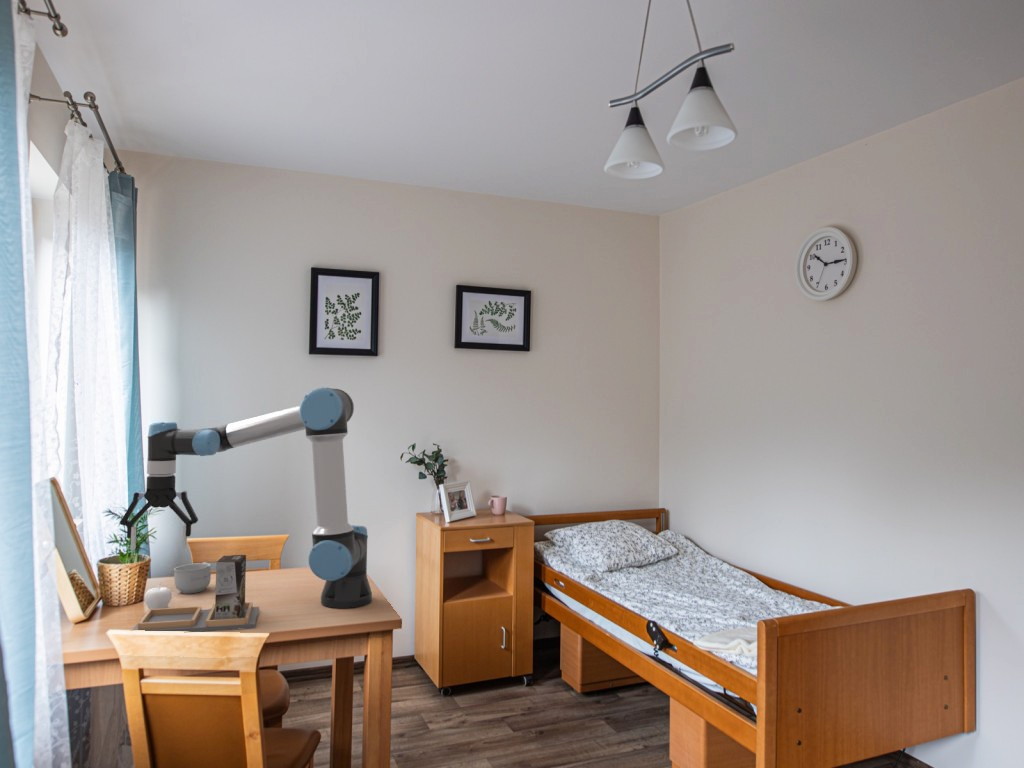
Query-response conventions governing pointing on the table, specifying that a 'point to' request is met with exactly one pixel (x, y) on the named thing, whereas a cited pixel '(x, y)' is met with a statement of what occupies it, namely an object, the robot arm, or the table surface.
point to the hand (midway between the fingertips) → (159, 548)
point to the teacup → (192, 577)
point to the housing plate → (194, 619)
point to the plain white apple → (158, 597)
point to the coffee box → (230, 587)
